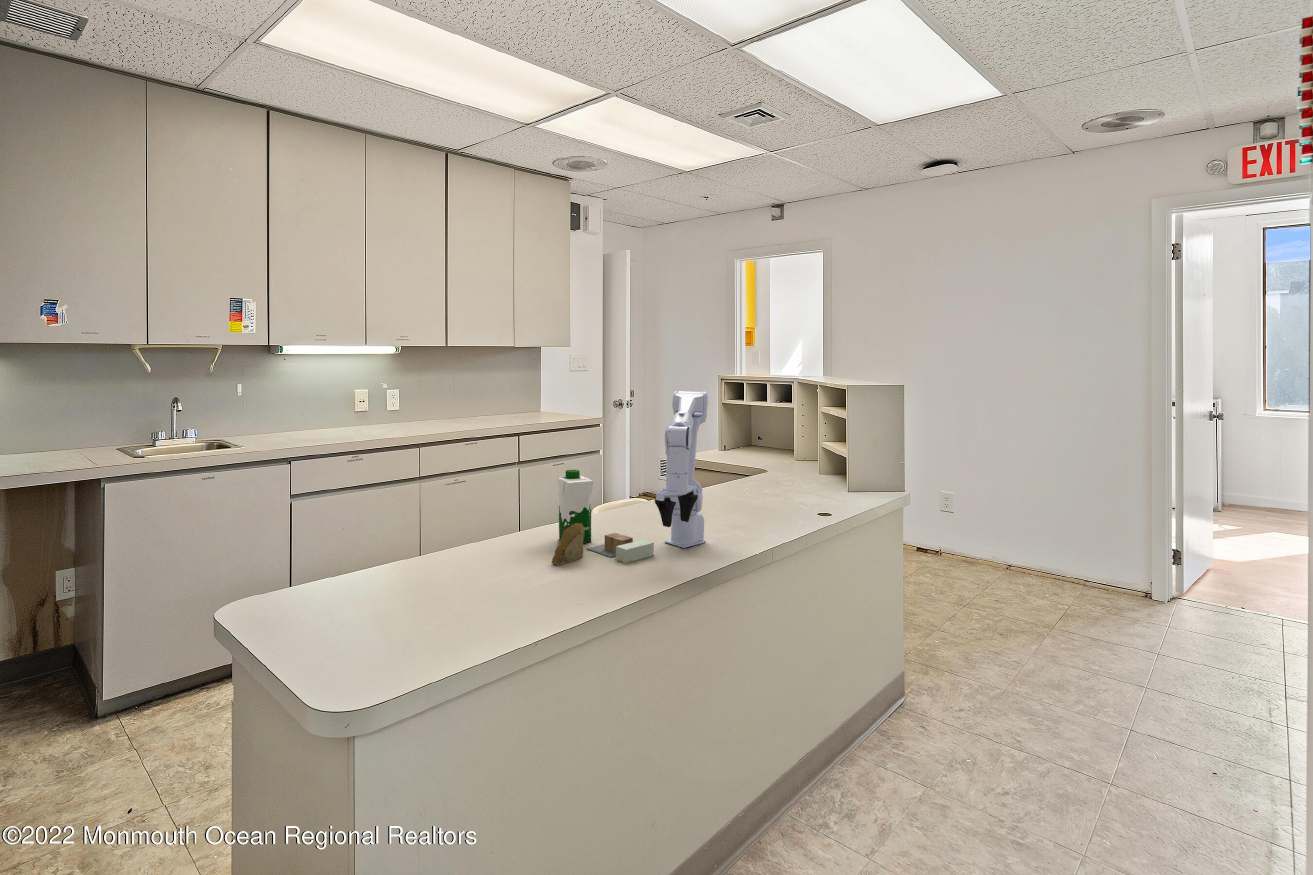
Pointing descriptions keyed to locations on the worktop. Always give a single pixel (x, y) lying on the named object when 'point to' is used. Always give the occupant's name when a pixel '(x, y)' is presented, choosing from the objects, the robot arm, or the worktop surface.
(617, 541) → the walnut block
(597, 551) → the mat
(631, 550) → the pale green rectangular block
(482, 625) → the worktop surface
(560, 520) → the milk carton
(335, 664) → the worktop surface
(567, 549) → the rock
